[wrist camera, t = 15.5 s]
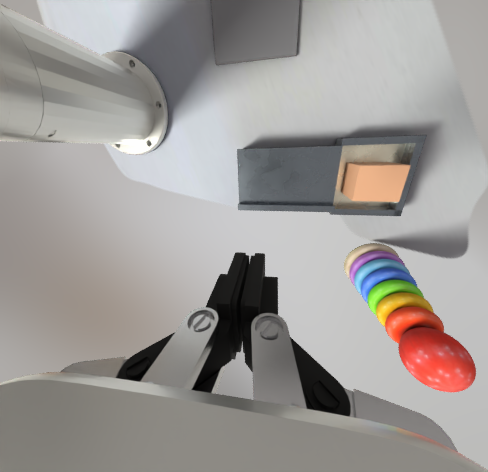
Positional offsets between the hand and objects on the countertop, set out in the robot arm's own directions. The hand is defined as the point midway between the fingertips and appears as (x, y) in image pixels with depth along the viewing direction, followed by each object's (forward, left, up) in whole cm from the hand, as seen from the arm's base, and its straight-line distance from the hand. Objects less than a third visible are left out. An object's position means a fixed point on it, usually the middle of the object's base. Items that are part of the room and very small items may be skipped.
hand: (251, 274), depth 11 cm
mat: (-2, +21, -22) cm, 30 cm away
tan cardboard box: (+10, +3, -18) cm, 21 cm away
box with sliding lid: (+6, +3, -22) cm, 23 cm away
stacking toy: (+17, -11, -22) cm, 30 cm away
